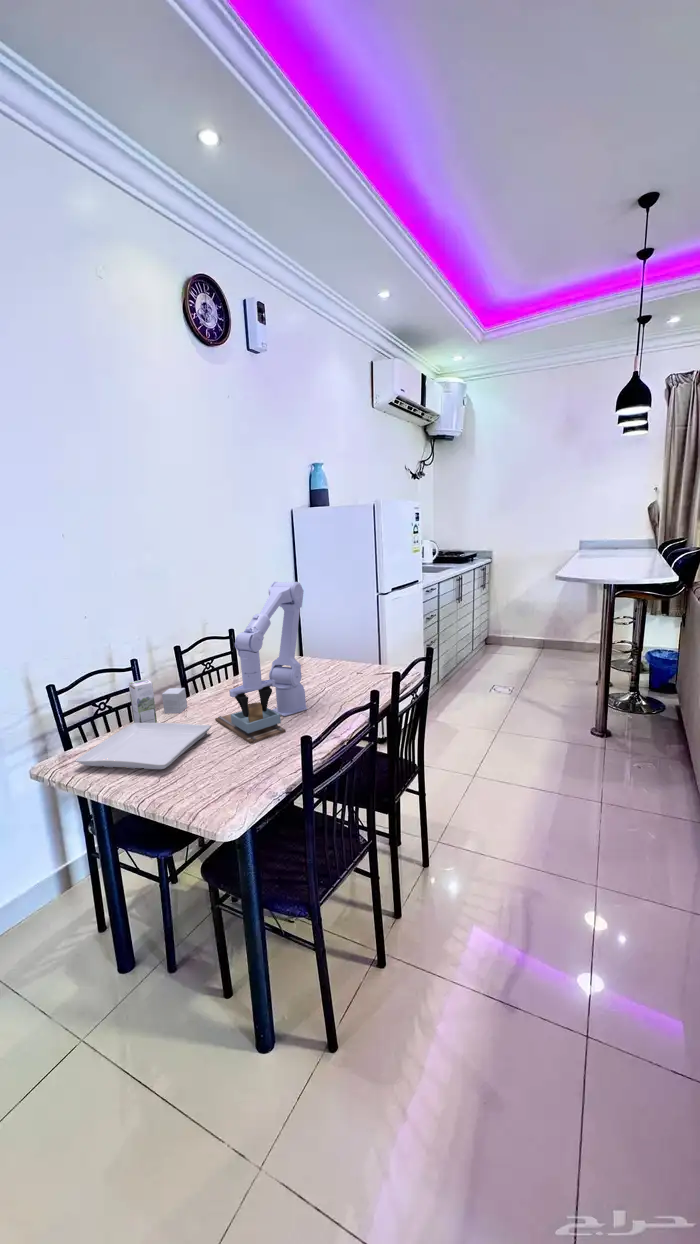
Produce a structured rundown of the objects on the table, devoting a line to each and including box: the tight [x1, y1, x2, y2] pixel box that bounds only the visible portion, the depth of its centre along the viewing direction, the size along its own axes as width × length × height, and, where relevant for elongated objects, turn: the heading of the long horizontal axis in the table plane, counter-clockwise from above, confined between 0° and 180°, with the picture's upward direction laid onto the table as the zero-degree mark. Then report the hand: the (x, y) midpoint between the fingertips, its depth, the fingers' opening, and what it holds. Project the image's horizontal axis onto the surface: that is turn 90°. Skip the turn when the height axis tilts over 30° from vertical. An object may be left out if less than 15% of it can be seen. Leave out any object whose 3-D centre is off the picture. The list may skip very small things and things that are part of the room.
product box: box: [161, 687, 188, 714], centre depth 179 cm, size 6×6×7 cm
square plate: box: [75, 722, 212, 770], centre depth 147 cm, size 27×27×4 cm
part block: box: [248, 701, 263, 723], centre depth 157 cm, size 4×4×5 cm
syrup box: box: [128, 678, 158, 723], centre depth 168 cm, size 6×6×14 cm
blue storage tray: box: [230, 707, 282, 735], centre depth 158 cm, size 11×11×4 cm
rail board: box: [214, 710, 287, 745], centre depth 162 cm, size 12×25×1 cm, turn 38°
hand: (255, 713), depth 157 cm, fingers open, 6 cm apart
